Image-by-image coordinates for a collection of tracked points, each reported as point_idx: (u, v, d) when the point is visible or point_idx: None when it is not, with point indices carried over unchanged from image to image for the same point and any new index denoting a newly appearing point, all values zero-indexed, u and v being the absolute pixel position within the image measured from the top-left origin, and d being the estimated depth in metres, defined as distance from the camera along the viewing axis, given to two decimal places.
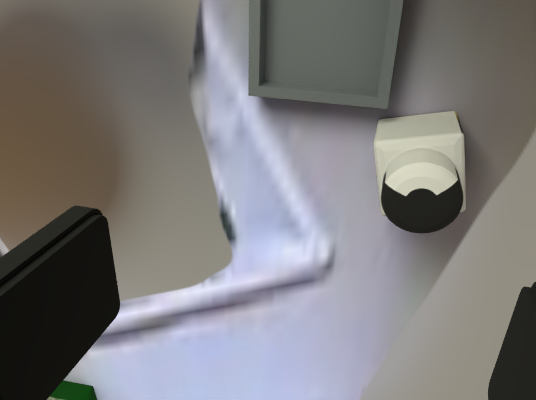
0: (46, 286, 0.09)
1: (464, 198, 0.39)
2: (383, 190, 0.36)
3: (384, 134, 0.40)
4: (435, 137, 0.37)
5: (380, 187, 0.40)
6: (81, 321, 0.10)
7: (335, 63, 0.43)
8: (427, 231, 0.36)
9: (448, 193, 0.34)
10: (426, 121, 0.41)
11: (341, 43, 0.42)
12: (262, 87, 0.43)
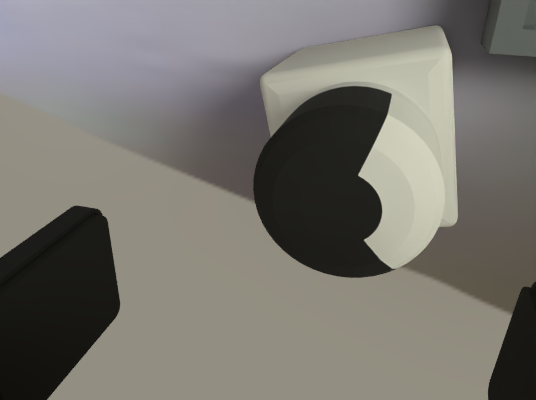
0: (46, 286, 0.09)
1: None
2: (364, 112, 0.13)
3: None
4: (452, 179, 0.18)
5: (330, 70, 0.17)
6: (81, 321, 0.10)
7: None
8: (263, 215, 0.15)
9: (367, 261, 0.15)
10: None
11: None
12: None
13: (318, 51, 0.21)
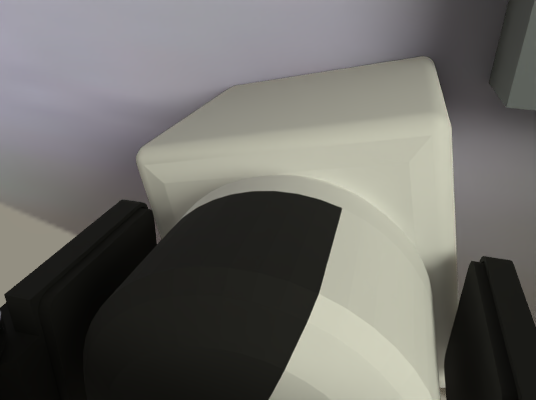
0: (103, 276, 0.09)
1: None
2: (270, 288, 0.06)
3: None
4: (452, 323, 0.11)
5: (244, 148, 0.10)
6: None
7: None
8: None
9: None
10: None
11: None
12: None
13: (247, 97, 0.14)
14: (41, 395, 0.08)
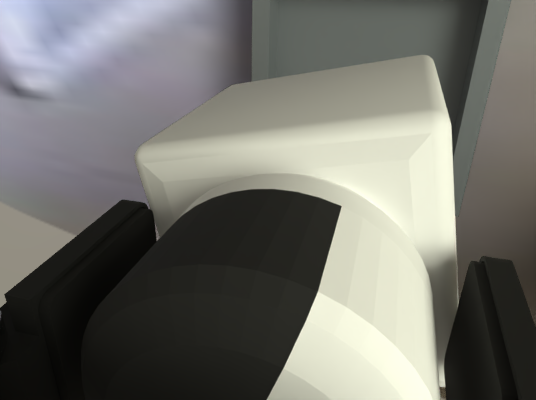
0: (103, 276, 0.09)
1: None
2: (268, 286, 0.06)
3: None
4: (452, 322, 0.11)
5: (243, 146, 0.10)
6: None
7: None
8: None
9: None
10: None
11: None
12: None
13: (246, 95, 0.14)
14: (41, 395, 0.08)
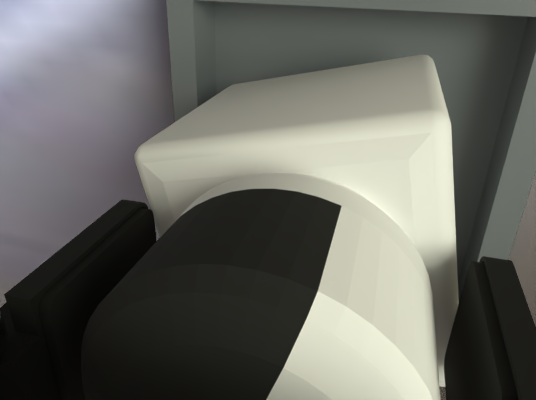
0: (103, 276, 0.09)
1: None
2: (268, 285, 0.06)
3: None
4: (452, 322, 0.11)
5: (243, 146, 0.10)
6: None
7: None
8: None
9: None
10: None
11: None
12: (190, 11, 0.16)
13: (246, 95, 0.14)
14: (41, 395, 0.08)
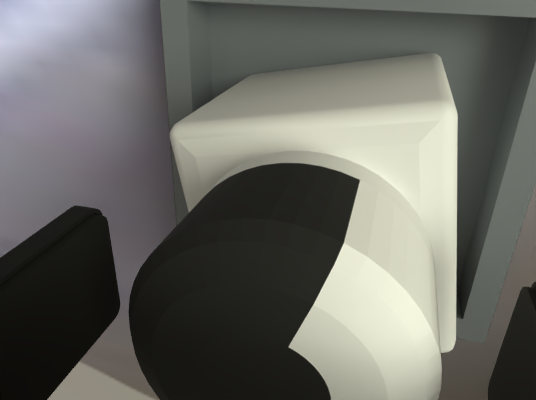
0: (46, 286, 0.09)
1: None
2: (302, 237, 0.07)
3: None
4: (449, 292, 0.12)
5: (271, 127, 0.11)
6: (81, 321, 0.10)
7: None
8: (144, 370, 0.09)
9: None
10: None
11: None
12: (184, 12, 0.16)
13: (268, 84, 0.15)
14: None
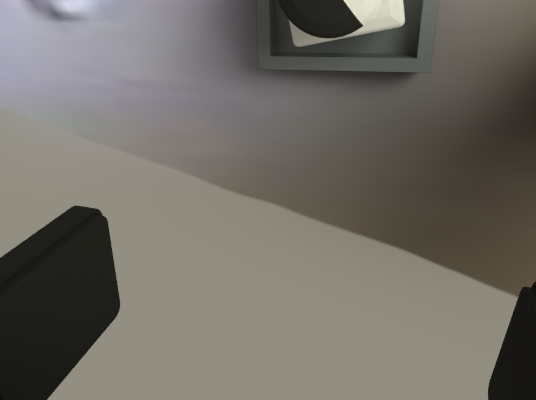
0: (46, 286, 0.09)
1: (313, 42, 0.30)
2: None
3: None
4: None
5: None
6: (81, 321, 0.10)
7: None
8: None
9: (345, 16, 0.24)
10: None
11: None
12: None
13: None
14: None
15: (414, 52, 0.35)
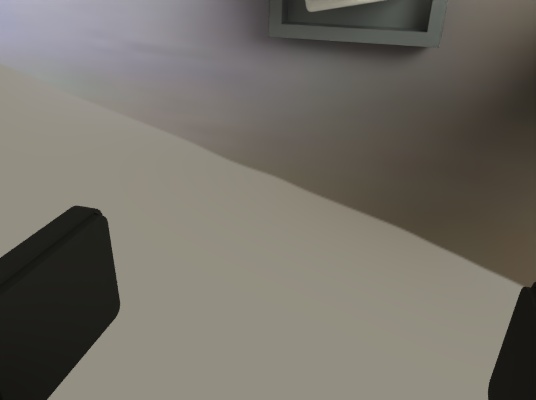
0: (46, 286, 0.09)
1: (325, 7, 0.30)
2: None
3: None
4: None
5: None
6: (81, 321, 0.10)
7: None
8: None
9: None
10: None
11: None
12: None
13: None
14: None
15: (424, 27, 0.36)
